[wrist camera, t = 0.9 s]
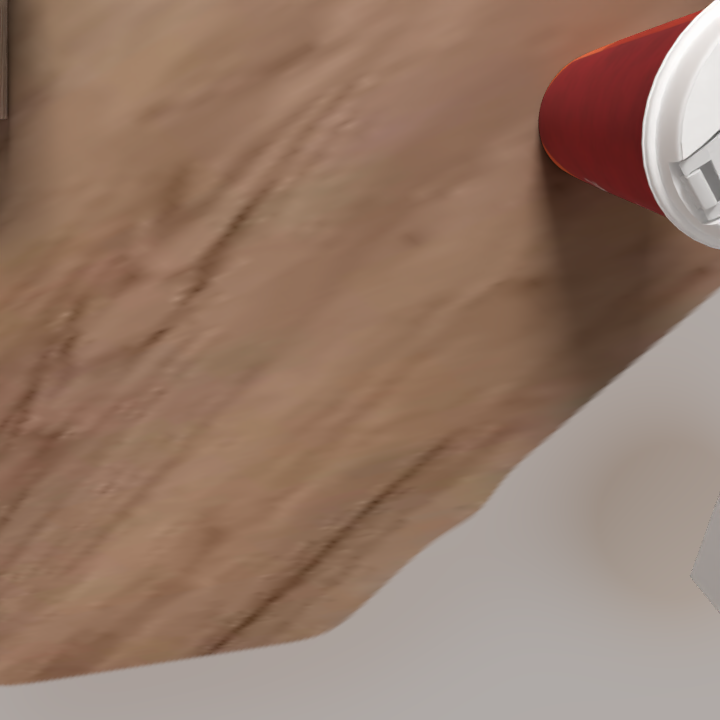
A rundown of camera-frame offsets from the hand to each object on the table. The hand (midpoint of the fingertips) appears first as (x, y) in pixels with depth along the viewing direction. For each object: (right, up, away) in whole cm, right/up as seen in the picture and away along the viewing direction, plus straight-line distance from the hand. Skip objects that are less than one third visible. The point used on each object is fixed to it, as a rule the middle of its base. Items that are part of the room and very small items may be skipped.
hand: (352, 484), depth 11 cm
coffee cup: (+12, +14, +23) cm, 29 cm away
